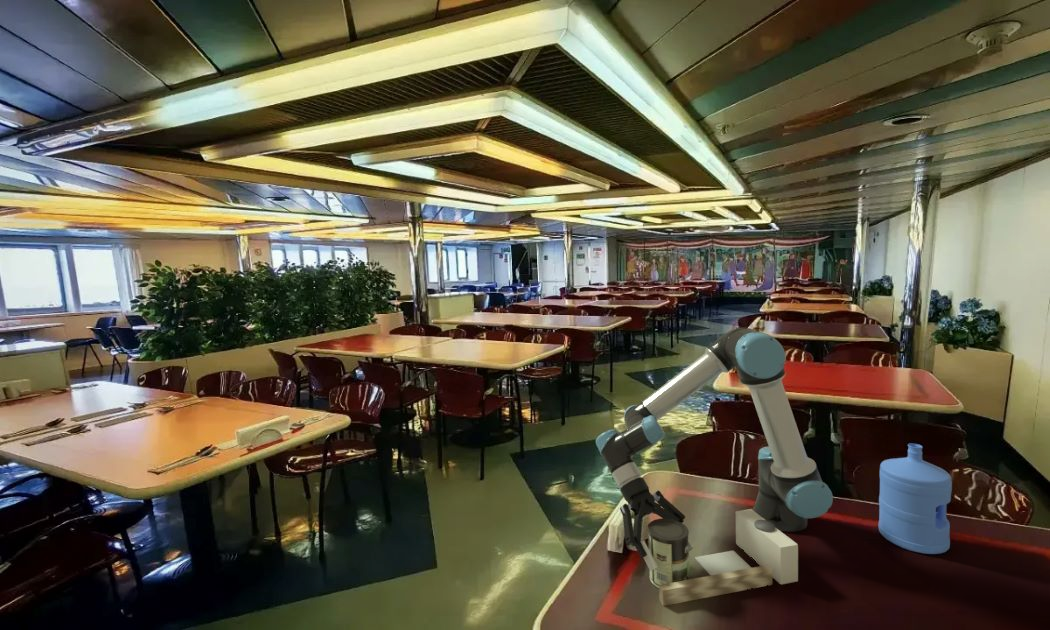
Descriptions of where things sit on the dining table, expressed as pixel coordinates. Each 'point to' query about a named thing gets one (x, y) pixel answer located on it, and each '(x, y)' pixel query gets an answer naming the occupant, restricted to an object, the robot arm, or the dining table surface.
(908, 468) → the water jug
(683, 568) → the coffee can
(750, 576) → the guide rail
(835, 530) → the dining table surface
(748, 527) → the end cabinet
